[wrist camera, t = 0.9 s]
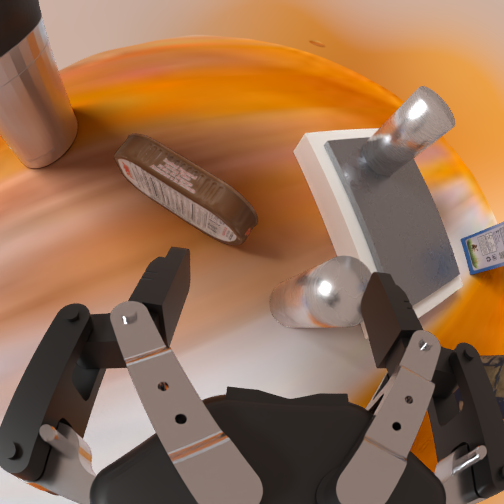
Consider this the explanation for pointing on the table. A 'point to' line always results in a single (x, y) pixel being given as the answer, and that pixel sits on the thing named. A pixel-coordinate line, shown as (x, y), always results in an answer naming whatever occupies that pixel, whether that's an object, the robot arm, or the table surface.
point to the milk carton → (485, 249)
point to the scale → (347, 208)
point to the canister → (491, 380)
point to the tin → (186, 189)
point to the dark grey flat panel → (396, 220)
